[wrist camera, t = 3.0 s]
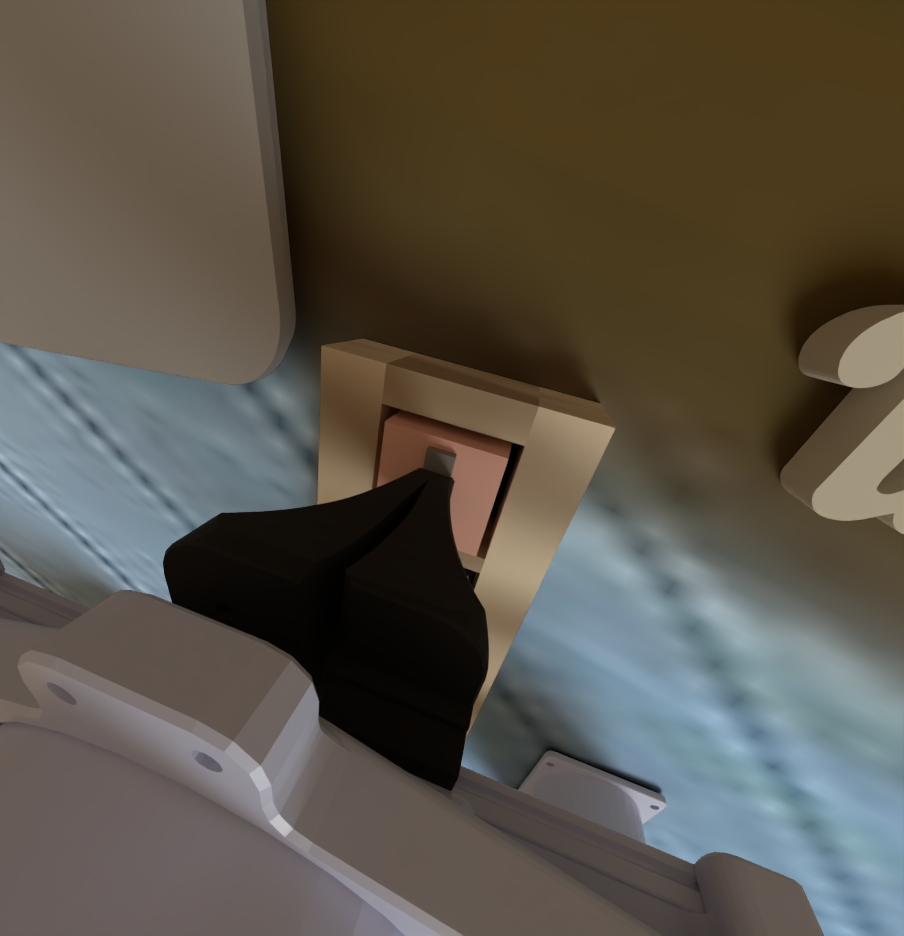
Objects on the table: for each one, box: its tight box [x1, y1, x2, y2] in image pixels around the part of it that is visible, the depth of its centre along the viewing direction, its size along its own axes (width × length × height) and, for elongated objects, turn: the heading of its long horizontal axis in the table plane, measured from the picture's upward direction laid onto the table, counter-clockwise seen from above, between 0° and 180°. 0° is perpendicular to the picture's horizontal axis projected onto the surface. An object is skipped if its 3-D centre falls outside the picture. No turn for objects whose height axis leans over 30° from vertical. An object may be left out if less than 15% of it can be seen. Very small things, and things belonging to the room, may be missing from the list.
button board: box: [317, 339, 615, 738], centre depth 17 cm, size 20×10×3 cm, turn 167°
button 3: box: [377, 410, 512, 557], centre depth 13 cm, size 4×4×3 cm
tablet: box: [0, 0, 296, 385], centre depth 13 cm, size 16×26×2 cm, turn 84°
